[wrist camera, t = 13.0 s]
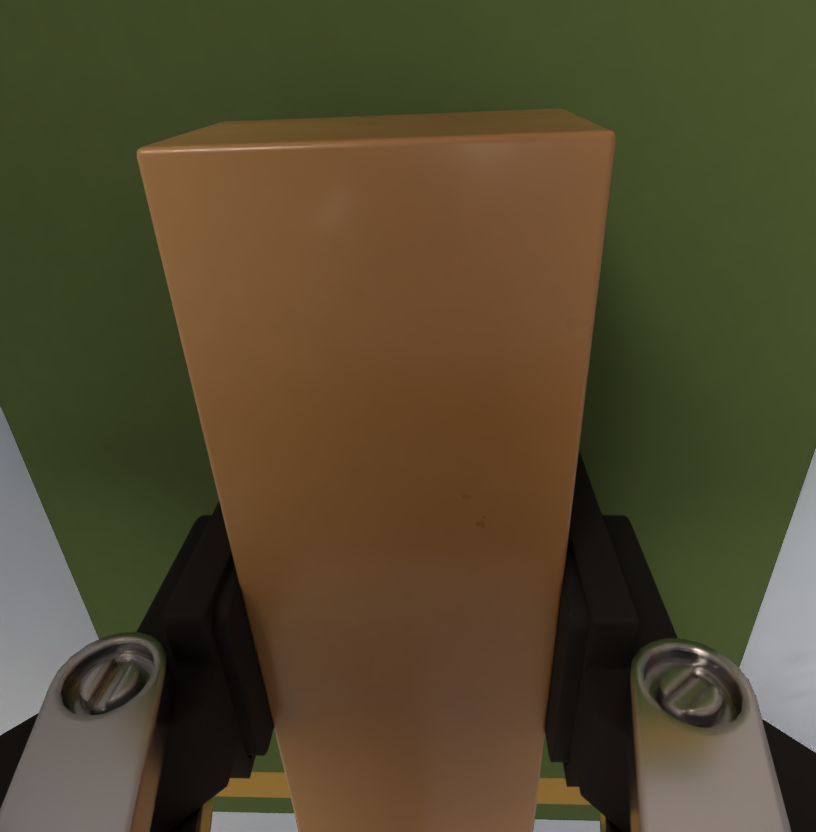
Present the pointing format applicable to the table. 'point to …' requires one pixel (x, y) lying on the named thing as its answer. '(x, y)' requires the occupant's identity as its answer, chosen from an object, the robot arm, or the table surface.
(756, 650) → the table surface
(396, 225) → the chalkboard eraser
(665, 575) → the cloth
